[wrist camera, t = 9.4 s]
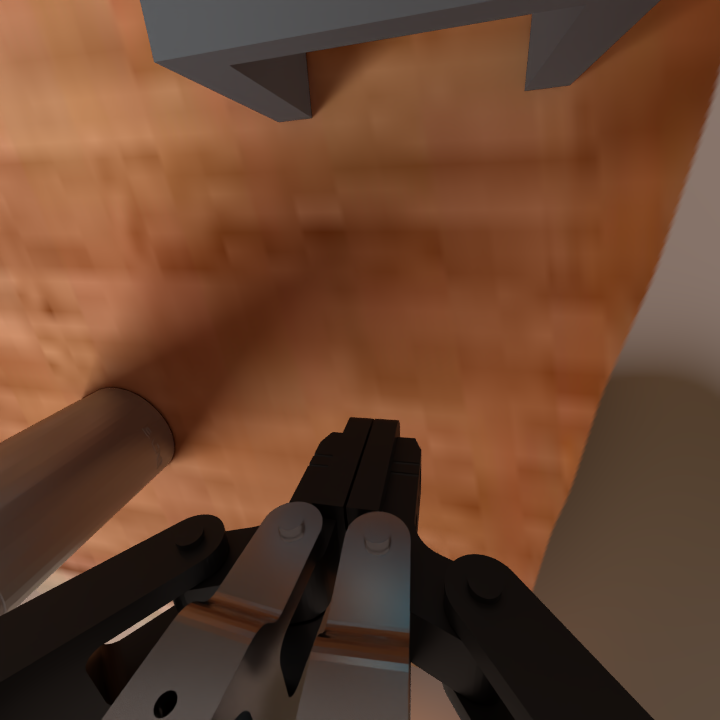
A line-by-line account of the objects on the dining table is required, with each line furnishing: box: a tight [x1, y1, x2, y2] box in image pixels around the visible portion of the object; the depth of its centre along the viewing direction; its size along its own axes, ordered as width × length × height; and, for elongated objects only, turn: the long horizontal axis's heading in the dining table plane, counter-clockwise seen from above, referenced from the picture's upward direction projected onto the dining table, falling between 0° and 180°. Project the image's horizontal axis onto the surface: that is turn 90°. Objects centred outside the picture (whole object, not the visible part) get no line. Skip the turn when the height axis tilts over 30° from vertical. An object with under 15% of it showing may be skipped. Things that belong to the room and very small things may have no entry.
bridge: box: [140, 0, 660, 122], centre depth 14 cm, size 3×15×10 cm, turn 93°
